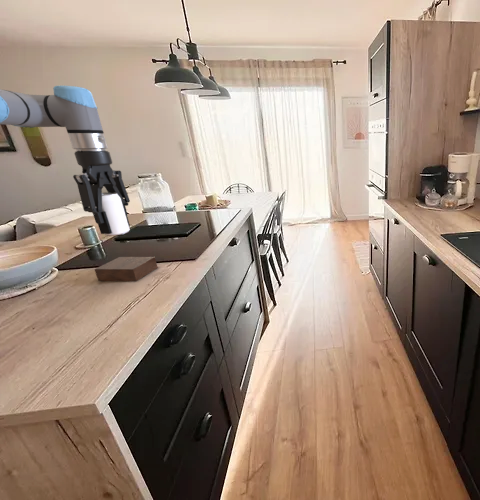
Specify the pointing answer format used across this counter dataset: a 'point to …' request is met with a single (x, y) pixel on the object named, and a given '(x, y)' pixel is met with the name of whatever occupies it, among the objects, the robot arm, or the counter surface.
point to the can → (114, 213)
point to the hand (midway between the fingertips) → (116, 229)
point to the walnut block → (126, 269)
